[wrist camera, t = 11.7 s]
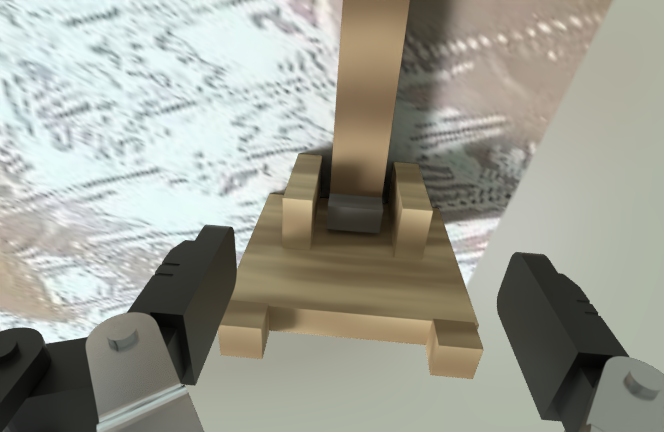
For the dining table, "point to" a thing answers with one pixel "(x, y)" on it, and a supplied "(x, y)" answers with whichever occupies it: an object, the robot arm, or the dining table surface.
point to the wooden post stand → (353, 276)
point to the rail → (364, 110)
